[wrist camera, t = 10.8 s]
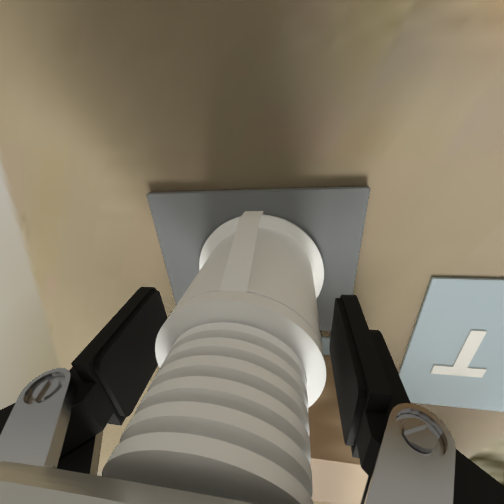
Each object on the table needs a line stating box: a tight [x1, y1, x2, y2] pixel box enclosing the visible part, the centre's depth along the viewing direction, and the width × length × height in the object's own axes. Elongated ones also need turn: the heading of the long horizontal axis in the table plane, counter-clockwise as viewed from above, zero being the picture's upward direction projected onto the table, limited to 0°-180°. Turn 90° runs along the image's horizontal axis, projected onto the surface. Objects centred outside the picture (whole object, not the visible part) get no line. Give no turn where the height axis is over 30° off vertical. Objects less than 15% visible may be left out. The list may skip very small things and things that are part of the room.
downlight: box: [102, 211, 326, 504], centre depth 10 cm, size 8×7×10 cm
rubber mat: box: [146, 186, 370, 331], centre depth 14 cm, size 11×9×1 cm
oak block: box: [308, 355, 368, 504], centre depth 15 cm, size 5×5×6 cm
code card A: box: [398, 277, 504, 412], centre depth 15 cm, size 11×11×1 cm
